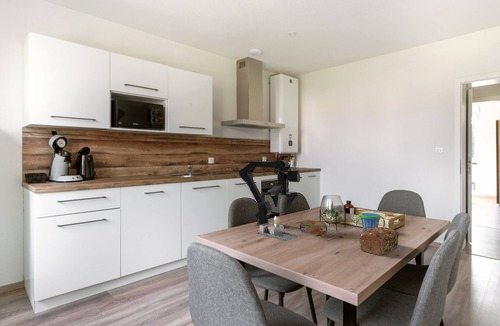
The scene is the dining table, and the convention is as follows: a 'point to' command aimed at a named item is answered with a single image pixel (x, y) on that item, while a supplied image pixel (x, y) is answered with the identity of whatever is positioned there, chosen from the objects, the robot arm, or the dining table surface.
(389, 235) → the bread
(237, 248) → the dining table surface
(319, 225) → the tin
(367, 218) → the snack cup
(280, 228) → the jaw
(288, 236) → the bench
